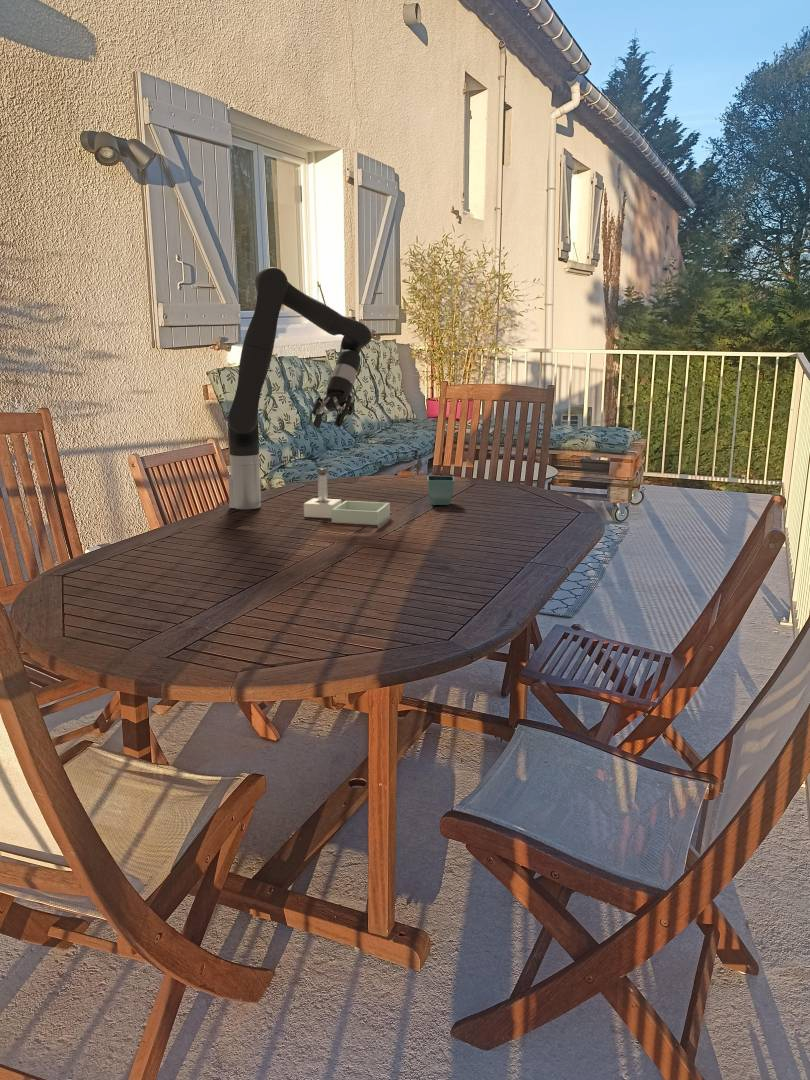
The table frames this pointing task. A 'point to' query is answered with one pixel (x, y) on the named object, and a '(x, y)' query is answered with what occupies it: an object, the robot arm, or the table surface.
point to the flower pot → (440, 489)
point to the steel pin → (322, 485)
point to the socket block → (320, 508)
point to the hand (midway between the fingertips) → (326, 426)
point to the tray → (361, 513)
